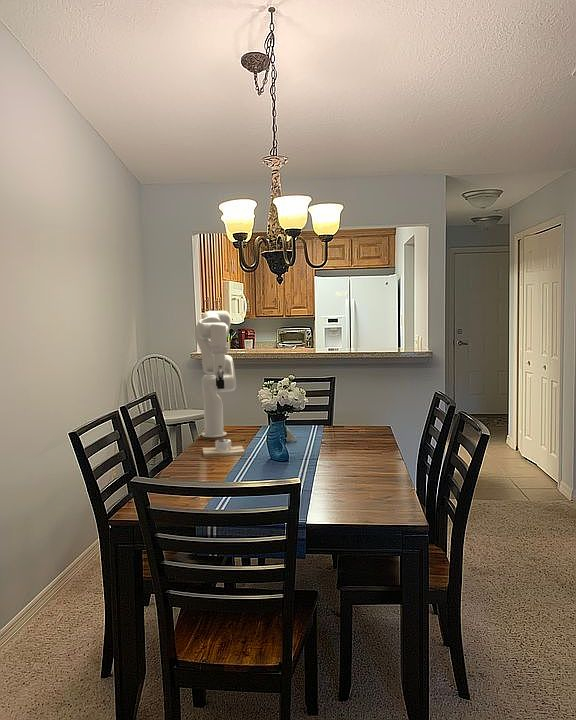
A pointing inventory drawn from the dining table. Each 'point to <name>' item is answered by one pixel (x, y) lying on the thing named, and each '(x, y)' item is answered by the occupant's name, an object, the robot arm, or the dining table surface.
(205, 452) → the block
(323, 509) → the dining table surface
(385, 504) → the dining table surface
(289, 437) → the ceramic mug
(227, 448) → the ring
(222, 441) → the dark domed cylinder
